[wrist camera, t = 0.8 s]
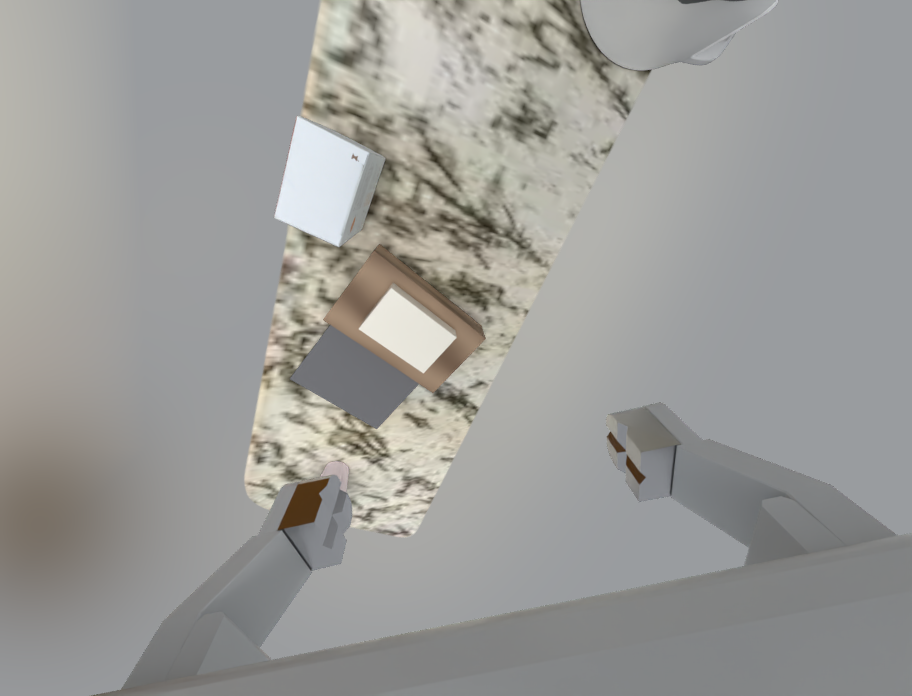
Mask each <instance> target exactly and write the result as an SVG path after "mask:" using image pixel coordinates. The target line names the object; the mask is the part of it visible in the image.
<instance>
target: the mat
mask: <svg viewBox="0 0 912 696" xmlns="http://www.w3.org/2000/svg"><path fill="white" fill-rule="evenodd" d="M290 379H291V380H292V381H294V382H296V383H298V384H299V385H301V386H303V387H305V388H306V389H308V390H310V391H312V392H313V393H315V394H317V395H318V396H320V397H322V398H324V399H325V400H327V401H329V402H331V403H332V404H334V405H336V406H338V407H339V408H341V409H343V410H345V411H346V412H348V413H350V414H351V415H353V416H355V417H357V418H358V419H360V420H362V421H364V422H365V423H367V424H369V425H371V426H372V427H374V428H376V429H377V428H378V427H379V426H380V425H381V424H382V423H383V422H384V421H385V420H386V419H387V418H388V417H389V415H390V414H391V413H392V412H393V411H394V410H395V409H396V408H397V407H398V406H399V405H400V404H401V403H402V402H403V400H404V399H405V398H406V397H407V396H408V395H409V394H410V393H411V392H412V391H413V390H414V389H415V388H416V387H417V385H418V384H419V383H417V382H416V381H414V380H413V379H411V378H410V377H408V376H407V375H405V374H404V373H402V372H401V371H399V370H398V369H396V368H395V367H393V366H392V365H390V364H389V363H387V362H386V361H384V360H383V359H381V358H380V357H378V356H377V355H375V354H374V353H372V352H371V351H369V350H368V349H366V348H365V347H363V346H362V345H360V344H359V343H357V342H356V341H354V340H353V339H351V338H350V337H348V336H347V335H345V334H344V333H342V332H341V331H339V330H338V329H336V328H335V327H333V326H332V325H330V326H329V327H328V329H327V330H326V331H325V333H324V334H323V335H322V337H321V338H320V339H319V341H318V342H317V343H316V345H315V346H314V347H313V349H312V350H311V351H310V353H309V354H308V355H307V357H306V358H305V359H304V361H303V362H302V363H301V365H300V366H299V367H298V369H297V370H296V371H295V372H294V374H293V375H292V376H291V378H290Z"/></svg>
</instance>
